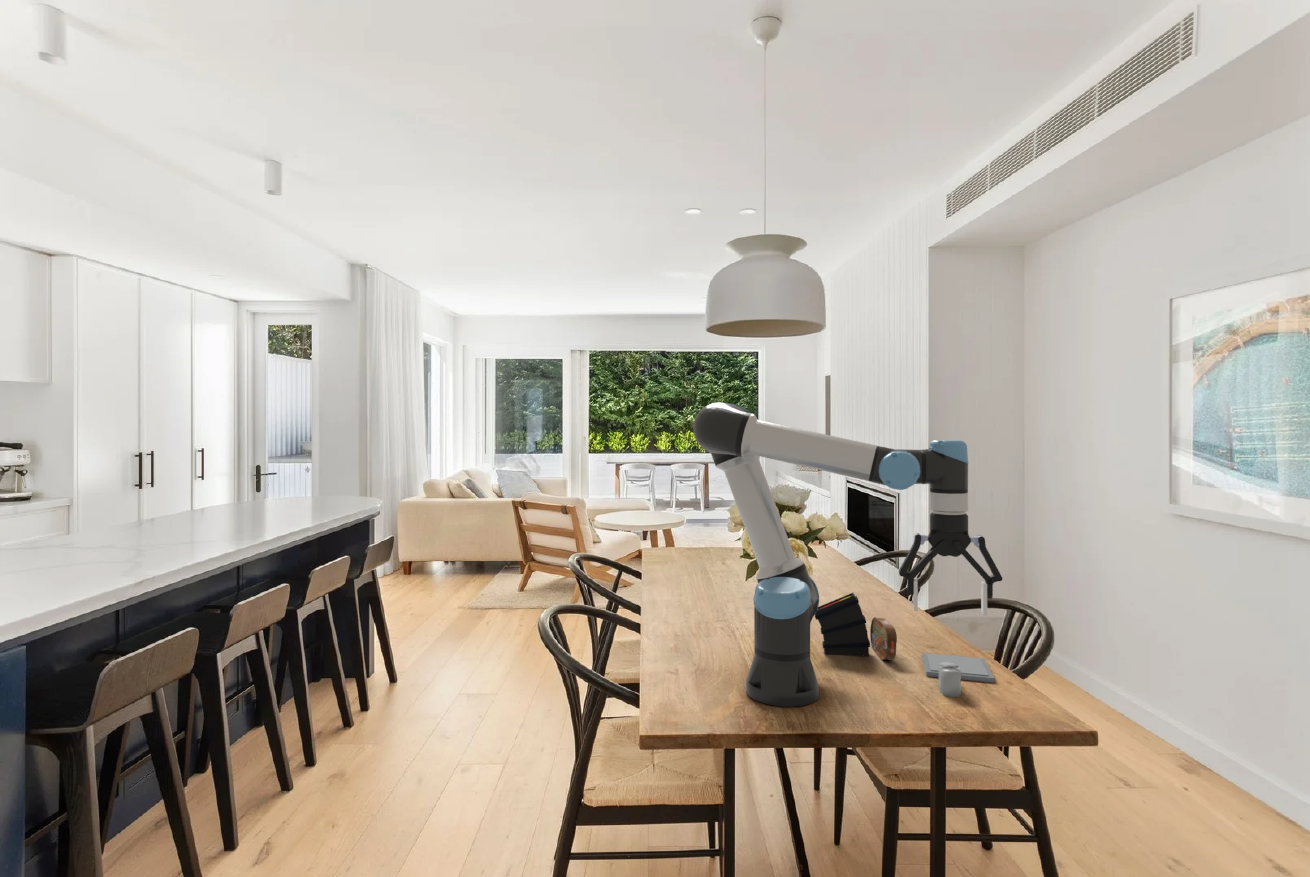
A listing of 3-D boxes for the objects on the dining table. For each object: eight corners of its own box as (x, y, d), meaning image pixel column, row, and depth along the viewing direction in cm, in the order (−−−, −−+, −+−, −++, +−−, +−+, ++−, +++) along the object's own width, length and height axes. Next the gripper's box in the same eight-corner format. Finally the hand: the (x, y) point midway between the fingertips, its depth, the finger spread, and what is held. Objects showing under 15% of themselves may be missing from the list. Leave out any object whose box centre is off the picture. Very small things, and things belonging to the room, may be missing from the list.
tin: (869, 645, 177) (869, 613, 177) (881, 645, 177) (881, 613, 177) (885, 665, 162) (885, 629, 162) (898, 665, 162) (898, 629, 162)
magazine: (883, 651, 167) (855, 595, 168) (832, 671, 169) (806, 615, 171) (881, 646, 171) (854, 591, 172) (832, 666, 173) (806, 611, 174)
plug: (941, 695, 143) (941, 672, 143) (936, 680, 152) (936, 658, 152) (961, 698, 142) (961, 674, 142) (956, 682, 151) (956, 659, 151)
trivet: (926, 676, 155) (926, 670, 155) (921, 656, 168) (921, 651, 168) (994, 682, 150) (994, 677, 150) (984, 662, 164) (984, 657, 164)
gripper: (1009, 511, 146) (1010, 611, 146) (886, 508, 153) (887, 603, 153) (1017, 515, 139) (1017, 620, 139) (887, 512, 146) (888, 611, 146)
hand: (949, 611), depth 146 cm, fingers open, 13 cm apart
